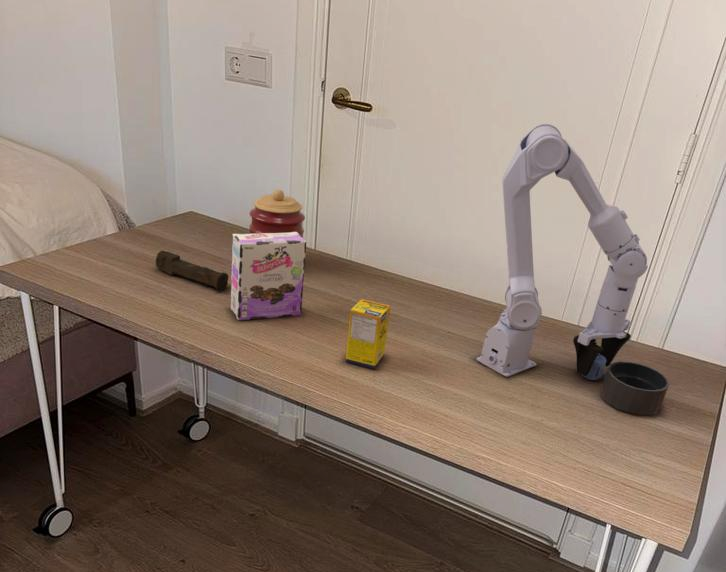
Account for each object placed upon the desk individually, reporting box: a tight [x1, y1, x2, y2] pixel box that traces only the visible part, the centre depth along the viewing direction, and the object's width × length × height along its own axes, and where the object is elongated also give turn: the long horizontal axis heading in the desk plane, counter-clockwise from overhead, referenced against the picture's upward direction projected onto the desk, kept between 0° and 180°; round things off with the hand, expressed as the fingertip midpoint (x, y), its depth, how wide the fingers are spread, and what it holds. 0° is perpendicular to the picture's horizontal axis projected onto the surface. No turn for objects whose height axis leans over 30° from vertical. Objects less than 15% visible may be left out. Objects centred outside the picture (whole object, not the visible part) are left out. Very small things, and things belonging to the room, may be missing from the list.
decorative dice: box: [580, 353, 607, 381], centre depth 140 cm, size 4×4×4 cm
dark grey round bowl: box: [600, 360, 670, 416], centre depth 132 cm, size 11×11×6 cm
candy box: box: [230, 232, 307, 321], centre depth 145 cm, size 14×6×16 cm, turn 114°
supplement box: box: [345, 298, 391, 370], centre depth 133 cm, size 6×6×11 cm
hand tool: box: [155, 250, 229, 293], centre depth 158 cm, size 19×4×5 cm, turn 60°
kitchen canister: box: [248, 188, 306, 238], centre depth 169 cm, size 13×13×18 cm
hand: (592, 368), depth 140 cm, fingers open, 7 cm apart
